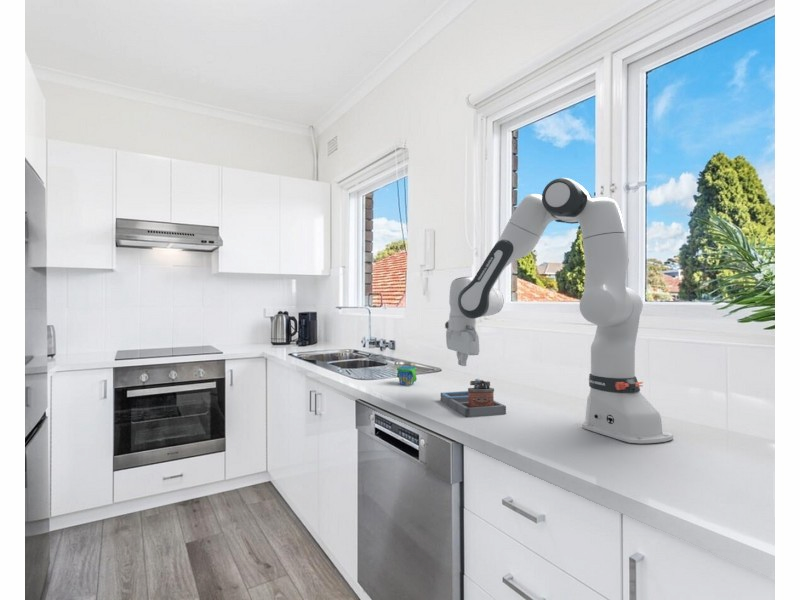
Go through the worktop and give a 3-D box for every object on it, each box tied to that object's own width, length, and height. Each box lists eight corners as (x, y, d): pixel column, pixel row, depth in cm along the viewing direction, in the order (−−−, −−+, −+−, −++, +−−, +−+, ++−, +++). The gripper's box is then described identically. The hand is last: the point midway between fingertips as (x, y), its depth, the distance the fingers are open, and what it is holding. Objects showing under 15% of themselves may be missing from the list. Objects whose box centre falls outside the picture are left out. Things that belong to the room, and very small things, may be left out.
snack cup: (422, 387, 180) (421, 368, 180) (405, 389, 177) (405, 370, 177) (408, 382, 190) (408, 365, 190) (391, 384, 187) (391, 366, 187)
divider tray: (508, 413, 138) (508, 390, 138) (466, 417, 134) (466, 393, 134) (477, 398, 159) (477, 378, 159) (440, 401, 156) (440, 380, 156)
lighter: (492, 411, 141) (492, 379, 141) (495, 413, 138) (495, 381, 138) (467, 411, 141) (467, 379, 141) (469, 414, 138) (468, 381, 138)
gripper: (484, 326, 144) (484, 369, 144) (459, 323, 164) (459, 361, 164) (466, 327, 142) (466, 370, 143) (443, 323, 162) (443, 361, 162)
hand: (462, 365), depth 153 cm, fingers closed
